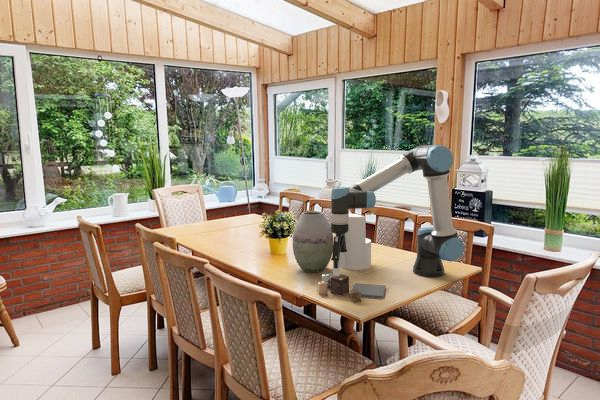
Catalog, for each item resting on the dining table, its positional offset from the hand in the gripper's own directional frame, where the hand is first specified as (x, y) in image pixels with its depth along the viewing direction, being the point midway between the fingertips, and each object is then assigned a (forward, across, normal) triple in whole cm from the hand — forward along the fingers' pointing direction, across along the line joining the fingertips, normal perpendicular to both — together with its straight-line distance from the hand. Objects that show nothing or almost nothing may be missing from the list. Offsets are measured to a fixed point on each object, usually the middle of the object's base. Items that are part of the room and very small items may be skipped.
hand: (339, 270), depth 185 cm
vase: (+10, -31, -20) cm, 38 cm away
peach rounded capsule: (+10, +3, -7) cm, 12 cm away
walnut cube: (+10, +7, +8) cm, 15 cm away
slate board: (+10, -4, +12) cm, 16 cm away
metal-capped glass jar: (+10, -6, -7) cm, 14 cm away
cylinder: (+10, -43, 0) cm, 44 cm away
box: (+10, 0, 0) cm, 10 cm away
